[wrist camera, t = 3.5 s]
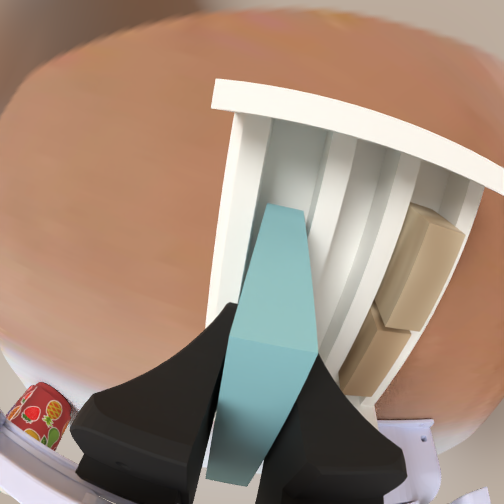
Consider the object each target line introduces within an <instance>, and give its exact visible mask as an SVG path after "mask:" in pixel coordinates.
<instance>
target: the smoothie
mask: <svg viewBox="0 0 504 504" xmlns="http://www.w3.org/2000/svg"><path fill="white" fill-rule="evenodd" d="M70 412H71V406H70V405H69V403H68V401H67V400H66V399H65V398H64V397H63V396H62V395H61V394H60V393H59V392H58V391H56V390H55V389H54V388H52V387H51V386H49V385H47V384H45V383H42V382H39V383H37V384H36V385H32V386H30V387H29V388H28V390H27V391H26V392H25V393H24V394H23V396H22V397H21V398H20V399H19V400H18V401H17V403H16V404H15V405H14V406H13V407H12V408H11V410H10V411H9V412H8V413H7V414H6V418H7V419H8V420H9V421H11V422H12V423H13V424H15V425H16V426H17V427H19V428H20V429H21V430H23V431H24V432H26V433H27V434H29V435H30V436H32V437H33V438H35V439H36V440H38V441H39V442H41V443H42V444H44V445H45V446H47V447H49V448H50V449H52V450H54V451H55V450H56V448H57V446H58V444H59V442H60V440H61V438H62V435H63V433H64V431H65V429H66V427H67V425H68V423H69V421H70V419H71V417H70ZM0 492H2V493H4V494H6V495H8V496H11V495H10V494H8V493H7V492H6V491H5V490H4V489H3V488H1V487H0Z"/></svg>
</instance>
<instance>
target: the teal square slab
mask: <svg viewBox="0 0 504 504" xmlns="http://www.w3.org/2000/svg"><path fill="white" fill-rule="evenodd" d="M317 355H318V341H317V328H316V316H315V305H314V295H313V285H312V276H311V267H310V258H309V249H308V241H307V233H306V226H305V218H304V211H302V210H298V209H293V208H289V207H284V206H279V205H274V204H270V203H267V206H266V209H265V213H264V216H263V220H262V223H261V227H260V230H259V234H258V237H257V241H256V244H255V248H254V251H253V255H252V258H251V261H250V265H249V268H248V272H247V275H246V279H245V282H244V286H243V289H242V293H241V296H240V300H239V303H238V307H237V310H236V314H235V317H234V321H233V324H232V328H231V331H230V335H229V340H228V346H227V352H226V357H225V363H224V369H223V375H222V381H221V387H220V393H219V399H218V405H217V411H216V417H215V423H214V429H213V435H212V441H211V447H210V454H209V460H208V466H207V472H206V479H210V480H214V481H219V482H224V483H229V484H235V485H241V486H248V484H249V483H250V481H251V479H252V478H253V476H254V475H255V473H256V471H257V470H258V468H259V466H260V465H261V463H262V461H263V460H264V458H265V456H266V455H267V453H268V451H269V449H270V448H271V446H272V444H273V442H274V441H275V439H276V437H277V435H278V433H279V432H280V430H281V428H282V426H283V424H284V422H285V420H286V419H287V417H288V415H289V413H290V411H291V409H292V407H293V405H294V403H295V401H296V399H297V397H298V395H299V393H300V391H301V389H302V387H303V385H304V383H305V381H306V379H307V377H308V374H309V372H310V370H311V368H312V366H313V364H314V361H315V359H316V357H317Z"/></svg>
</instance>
